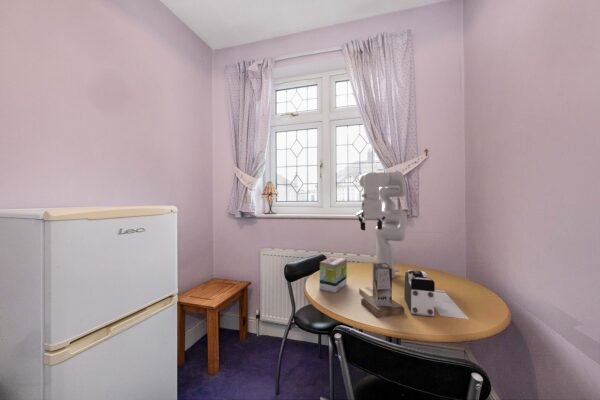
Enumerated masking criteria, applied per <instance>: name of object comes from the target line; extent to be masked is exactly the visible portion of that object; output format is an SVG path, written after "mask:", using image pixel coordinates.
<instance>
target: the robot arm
mask: <svg viewBox="0 0 600 400" xmlns="http://www.w3.org/2000/svg"><path fill="white" fill-rule="evenodd" d="M358 181H359V182H358V183H359V185H360V187H362V188H363V194H361V197H362V198H363V199H362V201H361V202H362V203H361V207H360V208H361V209H360V211H359V212H357V213H355V216H356V218H357V220H358V221H359V224H360V230H361V231H366V222H365V221H366V220H374V219H375V220H377V222H376V224H377V225H376V226H375V229H374V234H375V241H376V243H375V244H376V263H386V264H387V265H388V266H390V267H391V268H392V279H393V278H396V274H395V273H396V272H397V273H399V272H400V268H395V267H394V264H393V263H394V260H393V259H394V258H393V257H394V256H393V255H394V254H393V253H394V250H393V249H394V248H393V244H391V242H404V240H405V239H406V234H407V233H406V232H407V223H408V217H407V216H408V215H407V213H406V212H405V211H404V210H400V209H399V210H396V206H397V205H396V203H395V201H394V200H392V199H391V198H403V197H406V195H407V192H408V190H407V185H406V179H405V176H404V175H403V173H402V172H400V171H394V172H393V171H390V172H389V171H387V172H373V171H372V172H366V173H362V174H361V175H360V176H359V178H358Z"/></svg>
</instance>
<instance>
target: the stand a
mask: <svg viewBox="0 0 600 400" xmlns="http://www.w3.org/2000/svg"><path fill="white" fill-rule="evenodd" d="M358 289H359V290H358V292H359V293H358V294H359V295H361V296H363V298H368V297H373V286H368V287H362V288H361V287H360V288H358Z"/></svg>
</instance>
